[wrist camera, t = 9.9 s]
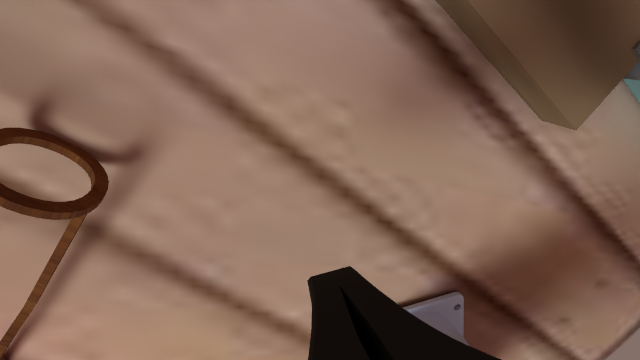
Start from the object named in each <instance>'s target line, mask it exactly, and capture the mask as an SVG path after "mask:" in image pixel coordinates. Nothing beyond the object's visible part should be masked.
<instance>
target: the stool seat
mask: <svg viewBox="0 0 640 360" xmlns="http://www.w3.org/2000/svg"><path fill="white" fill-rule="evenodd" d="M436 1H437V2H438V3H439V4H440V5H441V6H442V8H443V9H444V10H445V11H446V12H447V13H448V14H449V15H450V17H451V18H452V19H453V20H454V21H455V22H456V23H457V25H458V26H459V27H460V28H461V29H462V30H463V31H464V33H465V34H466V35H467V36H468V37H469V38H470V39H471V40H472V42H473V43H474V44H475V45H476V46H477V47H478V48H479V50H480V51H481V52H482V53H483V54H484V55H485V56H486V58H487V59H488V60H489V61H490V62H491V63H492V64H493V65H494V67H495V68H496V69H497V70H498V71H499V72H500V73H501V75H502V76H503V77H504V78H505V79H506V80H507V81H508V83H509V84H510V85H511V86H512V87H513V88H514V89H515V90H516V92H517V93H518V94H519V95H520V96H521V97H522V98H523V100H524V101H525V102H526V103H527V104H528V105H529V106H530V108H531V109H532V110H533V111H534V112H535V113H536V114H537V115H538V117H539V118H540V119H541V120H542V121H545V122H549V123H552V124H556V125H559V126H563V127H566V128H570V129H573V130H577V129H578V128H579V127H580V126H581V125H582V123H583V122H584V121H585V120H586V119H587V118H588V117H589V116H590V115H591V113H592V112H593V111H594V110H595V109H596V108H597V107H598V106H599V105H600V103H601V102H602V101H603V100H604V99H605V98H606V97H607V96H608V95H609V93H610V92H611V91H612V90H613V89H614V88H615V87H616V86H617V85H618V83H619V82H620V81H621V80H622V79H623V78H624V77H625V76H626V75H627V73H628V72H629V71H630V70H631V69H632V68H633V67H634V66H635V65H636V63H637V62H640V0H436Z"/></svg>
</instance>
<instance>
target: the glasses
mask: <svg viewBox="0 0 640 360" xmlns="http://www.w3.org/2000/svg"><path fill="white" fill-rule="evenodd" d="M14 143H23V144H31V145H36V146H40V147H44V148H47V149H50V150H53V151H55V152H58V153H60V154H62V155H64V156H66V157H68V158H70V159H71V160H73V161H74V162H76V163H77V164H78V165H80V166H81V167H82V168H83V169H84V170H85V171H86V172H87V173H88V175H89V177H90V179H91V184H92V186H91V191H90V192H89V193H88V194H86V195H85V196H83V197H82V198H79V199H77V200H74V201H67V202H52V201H45V200H40V199H36V198H32V197H29V196H26V195H23V194H20V193H18V192H16V191H14V190H12V189H9V188H7V187H6V186H4V185H3V184H1V183H0V206H2V207H4V208H6V209H9V210H12V211H15V212H17V213H20V214H24V215H28V216H32V217H37V218H44V219H53V220H60V219H71V221H70V223H69V225H68V227H67V229H66V230H65V232H64V234H63V236H62V238H61V239H60V241H59V243H58V245H57V247H56V249H55V250H54V252H53V254H52V256H51V258H50V260H49V261H48V263H47V265H46V267H45V269H44V270H43V272H42V274H41V276H40V278H39V280H38V281H37V283H36V285H35V287H34V289H33V291H32V292H31V294H30V296H29V298H28V300H27V302H26V303H25V305H24V307H23V309H22V310H21V312H20V313H19V315H18V316H17V318H16V319H15V320H14V322H13V323H12V325H11V326H10V328H9V329H8V331H7V332H6V334H5V335H4V337H3V338H2V340H1V341H0V360H6V359H5V358H4V356H3V354H4V353H5V351H6V349H7V348H8V346H9V345H10V343H11V341H12V340H13V338H14V337H15V335H16V334H17V332H18V330H19V329H20V328H21V326H22V325H23V323H24V322H25V320H26V319H27V317H28V316H29V314H30V313H31V311H32V310H33V308H34V307H35V305H36V304H37V302H38V300H39V298H40V297H41V295H42V293H43V291H44V290H45V288H46V286H47V284H48V282H49V281H50V279H51V277H52V275H53V274H54V272H55V270H56V268H57V266H58V265H59V263H60V261H61V259H62V258H63V256H64V254H65V252H66V250H67V249H68V247H69V245H70V243H71V242H72V240H73V238H74V236H75V235H76V233H77V231H78V229H79V227H80V226H81V224H82V222H83V220H84V219H85V217H86V215H87V213H89V212H91V211H92V210H94V209H95V208H96V207H97V206H98V205H99V204H100V203H101V201H102V200H103V198H104V196H105V194H106V192H107V190H108V183H109V181H108V176H107V173H106V172H105V170H104V168H103V167H102V166H101V164H100V163H99V162H98V161H97V160H96V159H95V158H93V157H92V156H91V155H90V154H88V153H87V152H85V151H84V150H82V149H81V148H79V147H77V146H75V145H73V144H71V143H69V142H67V141H65V140H63V139H60V138H58V137H56V136H53V135H50V134H47V133H44V132H40V131H35V130H31V129H24V128H3V129H0V146H3V145H7V144H14Z"/></svg>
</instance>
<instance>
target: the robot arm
mask: <svg viewBox="0 0 640 360" xmlns="http://www.w3.org/2000/svg"><path fill="white" fill-rule="evenodd" d="M308 286H309V292H310V297H311V302H312V329H311V339H310V349H309V357H308V360H501V359H498V358H496V357H493V356H491V355H489V354H486V353H484V352H482V351H479V350H477V349H475V348H473V347H471V346H470V345H469V344H468V343H467V341H466V340H465V339H464V297H463V296H462V295H461V294H460V293H459V292H453V293H449V294H446V295H443V296H439V297H436V298H433V299H429V300H426V301H423V302H419V303H416V304H413V305H409V306H406V307H403V308H402V307H401V306H400V305H398V304H397V303H395V302H394V301H393V300H391V299H390V298H389V297H387V296H386V295H385V294H383V293H382V292H381V291H379V290H378V289H377V288H376V287H374V286H373V285H372V284H371V283H370V282H368V281H367V280H366V279H365V278H364V277H362V276H361V275H360V274H359V273H358V272H357V271H356V270H354V269H353V268H352V267H350V266H349V267H345V268H341V269H338V270H334V271H330V272H327V273H323V274H319V275H316V276H312V277H310V278H309V280H308ZM455 305H456V306H455ZM454 306H455V307H454Z"/></svg>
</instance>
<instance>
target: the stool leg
mask: <svg viewBox="0 0 640 360" xmlns="http://www.w3.org/2000/svg"><path fill="white" fill-rule="evenodd" d="M623 80H624V81H625V83H626V84H627V85H628V87H629V88H630V90H631V91H632V93H633V94H634V95H635V97H636V98H637V100H638V101H639V103H640V62H637V63H636V65H635V66H634V67H633V68H632V69H631V70H630V71H629V72H628V73H627V75H626V76H625V77H624V78H623Z"/></svg>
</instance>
